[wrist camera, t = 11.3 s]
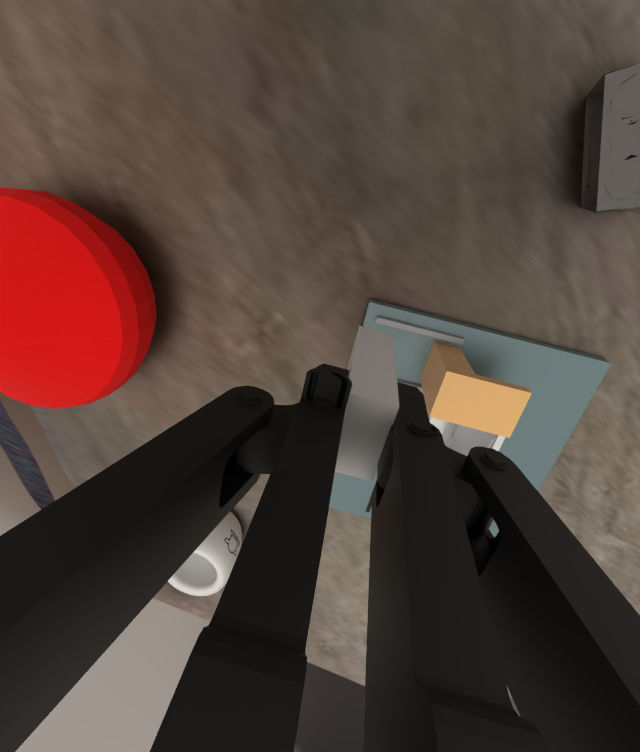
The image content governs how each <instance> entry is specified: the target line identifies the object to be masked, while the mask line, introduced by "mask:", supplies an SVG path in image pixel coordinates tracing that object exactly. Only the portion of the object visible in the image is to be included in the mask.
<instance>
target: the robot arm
mask: <svg viewBox="0 0 640 752" xmlns="http://www.w3.org/2000/svg"><path fill="white" fill-rule="evenodd" d="M376 471H377V480H376V483H375V486H374V489H373V491H372V494H371V497H370V500H369V503H368V505H367V508H366V511H365V512H369V511H370V509H371V507H372V513H371V541H370V569H369V598H368V626H367V654H366V682H365V711H364V740H363V752H640V615H639V614H638V613H637V612H636V611H635V609H634V608H633V607H632V606H631V604H630V603H629V602H628V601H627V600H626V598H625V597H624V596H623V595H622V593H621V592H620V591H619V590H618V589H617V587H616V586H615V585H614V584H613V582H612V581H611V580H610V579H609V578H608V576H607V575H606V574H605V573H604V572H603V570H602V569H601V568H600V567H599V565H598V564H597V563H596V562H595V561H594V559H593V558H592V557H591V556H590V554H589V553H588V552H587V551H586V550H585V548H584V547H583V546H582V545H581V543H580V542H579V541H578V540H577V539H576V537H575V536H574V535H573V534H572V532H571V531H570V530H569V529H568V528H567V526H566V525H565V524H564V523H563V522H562V520H561V519H560V518H559V517H558V515H557V514H556V513H555V512H554V511H553V509H552V508H551V507H550V506H549V504H548V503H547V502H546V501H545V500H544V498H543V497H542V496H541V495H540V493H539V492H538V491H537V490H536V489H535V487H534V486H533V485H532V484H531V482H530V481H529V480H528V479H527V478H526V476H525V475H524V474H523V473H522V472H521V470H520V469H519V468H518V467H517V465H516V464H515V463H514V462H513V461H512V460H511V459H509V458H508V457H506V456H505V455H503V454H502V453H501V452H499V451H496V450H495V449H492V448H486V447H473V448H471V449H470V451H469V453H468V455H467V456H466V455H463V454H461V453H459V452H457V451H454V450H452V449H451V448H449V447H447V446H445V444H444V440H443V437H442V434H441V432H440V430H439V429H438V428H436V427H435V426H434V425H433V424H431V423H430V421H429V417H428V412H427V409H426V403H425V399H424V395H423V393H422V392H421V391H420V390H419V389H418V388H417V387H415V386H411V385H407V384H404V383H400V382H397V374H396V363H395V352H394V340H393V334H389V333H385V332H381V331H377V330H374V329H370V328H366V327H362V326H359V328H358V332H357V335H356V339H355V343H354V346H353V350H352V354H351V357H350V361H349V365H348V368H347V370H346V369H342V368H338V367H335V366H331V365H327V364H322V365H320V366H318V367H316V368H315V369H311V370H309V371H308V372H307V375H306V379H305V383H304V388H303V392H302V397H301V400H300V402H299V403H297V404H294V405H274V399H273V397H272V396H271V395H270V394H269V393H268V392H266V391H264V390H263V389H259V388H257V387H253V386H251V387H250V386H241V387H235V388H233V389H230V390H229V391H227V392H225V393H224V394H222V395H221V396H219V397H218V398H216V399H214V400H213V401H211V402H210V403H208V404H207V405H205V406H203V407H202V408H200V409H199V410H197V411H196V412H194V413H192V414H191V415H189V416H188V417H186V418H185V419H183V420H181V421H180V422H178V423H177V424H175V425H174V426H172V427H171V428H169V429H167V430H166V431H164V432H163V433H161V434H160V435H158V436H156V437H155V438H153V439H152V440H150V441H149V442H147V443H145V444H144V445H142V446H141V447H139V448H138V449H136V450H134V451H133V452H131V453H130V454H128V455H127V456H125V457H123V458H122V459H120V460H119V461H117V462H116V463H114V464H113V465H111V466H109V467H108V468H106V469H105V470H103V471H102V472H100V473H98V474H97V475H95V476H94V477H92V478H91V479H89V480H87V481H86V482H84V483H83V484H81V485H80V486H78V487H76V488H75V489H73V490H72V491H70V492H69V493H67V494H66V495H64V496H62V497H61V498H59V499H58V500H56V501H55V502H53V503H51V504H50V505H48V506H47V507H45V508H44V509H42V510H40V511H39V512H37V513H36V514H34V515H33V516H31V517H29V518H28V519H26V520H25V521H23V522H22V523H20V524H18V525H17V526H15V527H14V528H12V529H11V530H9V531H7V532H6V533H4V534H3V535H1V536H0V752H15V751H16V750H17V749H18V748H19V747H20V746H21V744H22V743H23V742H24V741H25V740H26V739H27V738H28V737H29V736H30V734H31V733H32V732H33V731H34V730H35V729H36V728H37V727H38V726H39V724H40V723H41V722H42V721H43V720H44V719H45V718H46V717H47V716H48V714H49V713H50V712H51V711H52V710H53V708H55V707H56V705H57V704H58V703H59V702H60V701H61V700H62V699H63V698H64V696H65V695H66V694H67V693H68V692H69V691H70V690H71V689H72V688H73V686H74V685H75V684H76V683H77V682H78V681H79V680H80V679H81V677H82V676H83V675H84V674H85V673H86V672H87V671H88V670H89V669H90V667H91V666H92V665H93V664H94V663H95V662H96V661H97V659H98V658H99V657H100V656H101V655H102V654H103V653H104V652H105V650H106V649H107V648H108V647H109V646H110V645H111V644H112V643H113V642H114V641H115V639H116V638H117V637H118V636H119V635H120V634H121V633H122V632H123V631H124V629H125V628H126V627H127V626H128V625H129V624H130V623H131V622H132V620H133V619H134V618H135V617H136V616H137V615H138V614H139V613H140V611H141V610H142V609H143V608H144V607H145V606H146V605H147V604H148V603H149V601H150V600H151V599H152V598H153V597H154V596H155V595H156V594H157V593H158V591H159V590H160V589H161V588H162V587H163V586H164V585H165V584H166V582H167V581H168V580H169V579H170V578H171V577H172V576H173V575H174V574H175V572H176V571H177V570H178V569H179V568H180V567H181V566H182V565H183V563H184V562H185V561H186V560H187V559H188V558H189V557H190V556H191V555H192V553H193V552H194V551H195V550H196V549H197V548H198V547H199V546H200V544H201V543H202V542H203V541H204V540H205V539H206V538H207V537H208V536H209V534H210V533H211V532H212V531H213V530H214V529H215V528H216V527H217V525H218V524H219V523H220V522H221V521H222V520H223V519H224V518H225V517H226V515H227V514H228V513H229V512H230V511H231V510H232V509H233V508H234V506H235V505H236V504H237V503H238V502H239V501H240V500H241V499H242V498H243V496H244V495H245V494H246V493H247V492H248V491H249V490H250V489H251V487H252V486H253V485H254V484H255V483H256V482H257V480H258V478H259V477H260V474H270V477H269V479H268V482H267V484H266V487H265V489H264V492H263V494H262V496H261V499H260V501H259V504H258V506H257V509H256V511H255V514H254V516H253V519H252V521H251V524H250V526H249V529H248V531H247V534H246V536H245V539H244V541H243V544H242V546H241V549H240V551H239V554H238V556H237V559H236V561H235V564H234V566H233V568H232V571H231V573H230V576H229V578H228V581H227V583H226V586H225V588H224V591H223V593H222V596H221V598H220V601H219V603H218V606H217V608H216V611H215V613H214V615H213V618H212V620H211V622H210V624H209V625H208V626H206V627H204V628H203V630H202V632H201V633H200V635H199V637H198V639H197V641H196V644H195V646H194V648H193V650H192V652H191V655H190V657H189V659H188V662H187V664H186V666H185V669H184V671H183V674H182V676H181V679H180V681H179V683H178V686H177V688H176V690H175V693H174V695H173V698H172V700H171V702H170V705H169V707H168V710H167V712H166V714H165V717H164V719H163V721H162V724H161V726H160V729H159V731H158V733H157V736H156V738H155V741H154V743H153V745H152V748H151V750H150V752H293V751H294V745H295V739H296V732H297V726H298V720H299V713H300V707H301V701H302V694H303V688H304V681H305V674H306V664H307V656H306V655H305V648H306V641H307V635H308V629H309V623H310V617H311V611H312V605H313V599H314V593H315V587H316V581H317V575H318V569H319V563H320V557H321V551H322V545H323V539H324V533H325V528H326V522H327V516H328V510H329V504H330V498H331V492H332V486H333V480H334V474H335V472H339V473H342V474H346V475H350V476H353V477H357V478H361V479H364V480H368V481H372V482H373V479H374V477H375V474H376ZM493 520H494V521H495V523H496V525H497V527H498V529H499V532H498V533H497V535H496V536H495V537H494V536H493V535H492V533H491V532H490V530H489V528H490V526H491V524H492V522H493ZM506 685H507V686H506ZM507 687H508V689H509V691H510V694H511V696H512V698H513V700H514V702H515V704H516V707H517V709H518V711H519V714H520V716H521V717H520V716H518V714H517V713H516V712H515V710H514V709H513V706H512V704H511V701H510V698H509V694H508V690H507Z"/></svg>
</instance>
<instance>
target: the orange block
mask: <svg viewBox="0 0 640 752" xmlns="http://www.w3.org/2000/svg"><path fill="white" fill-rule="evenodd" d="M420 382H421V386H422V390H423V394H424V398H425V402H426V406H427V410H428V414H429V417H432V418H436V419H439V420H443V421H447V422H451V423H454V424H458V425H462V426H466V427H470V428H473V429H477V430H481V431H485V432H488V433H492V434H496V435H500V436H504V437H507V438H510V436H511V434H512V432H513V430H514V428H515V426H516V424H517V422H518V420H519V418H520V416H521V414H522V412H523V410H524V408H525V406H526V404H527V402H528V400H529V398H530V396H531V394H532V393H531V391H530V390H529V389H528V388H527V387H523V386H519V385H515V384H511V383H507V382H503V381H500V380H496V379H492V378H488V377H484V376H480V375H476V374H475V373H474V371H473V369H472V368H471V366H470V364H469V363H468V361H467V359H466V358H465V356H464V354H463V353H462V351H461V349H460V348H459V347H456V346H452V345H448V344H444V343H441V342H437V341H434V342H433V344H432V347H431V350H430V353H429V355H428V358H427V361H426V364H425V366H424V369H423V372H422V375H421V378H420Z"/></svg>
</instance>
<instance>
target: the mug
mask: <svg viewBox="0 0 640 752" xmlns="http://www.w3.org/2000/svg"><path fill="white" fill-rule="evenodd" d="M241 544H242V531H241V526H240V523H239V521H238V520H237V518H236V517H235V515H234V514H233V513H232V512H229V513H228V514H227V515H226V517H225V518H224V519H223V520H222V521H221V522H220V523H219V524H218V525H217V527H216V528H215V529H214V530H213V531H212V532H211V533H210V534H209V536H208V537H207V538H206V539H205V540H204V541H203V542H202V543H201V544H200V546H199V547H198V548H197V549H196V550H195V551H194V552H193V553H192V555H191V556H190V557H189V558H188V559H187V560H186V561H185V562H184V563H183V565H182V566H181V567H180V568H179V569H178V570H177V571H176V572H175V574H174V575H173V576H172V577H171V578H170V579H169V580H168V582H169V583H170V584H171V585H172V586H174V587H175V588H176V589H178V590H180V591H182V592H184V593H187V594H190V595H195V596H208V595H212V594H214V593H216V592H218V591H219V590H220V589H221V588H222V587H223V586H225V584H226V583H227V581H228V578H229V576H230V573H231V571H232V568H233V566H234V564H235V561H236V559H237V556H238V554H239V551H240V549H241Z"/></svg>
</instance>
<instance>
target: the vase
mask: <svg viewBox="0 0 640 752" xmlns="http://www.w3.org/2000/svg"><path fill="white" fill-rule="evenodd" d="M156 316H157V315H156V304H155V294H154V291H153V288H152V285H151V282H150V279H149V276H148V273H147V271H146V269H145V267H144V266H143V264H142V262H141V261H140V259H139V257H138V256H137V254H136V252H135V251H134V249H133V248H132V247H131V246H130V245H129V244H128V243H127V242H126V241H125V240H124V238H123V237H122V236H121V235H120V234H119V233H118V232H117V231H116V230H115V229H113V228H112V227H110V226H109V225H107V224H106V223H104V222H103V221H101V220H100V219H99V218H97V217H96V216H94V215H93V214H91V213H89V212H88V211H86V210H85V209H83V208H82V207H80V206H79V205H77V204H76V203H74V202H72V201H69V200H66V199H64V198H61V197H58V196H56V195H53V194H50V193H48V192H43V191H33V190H22V189H10V188H0V392H1V393H3V394H5V395H6V396H8V397H11V398H13V399H16V400H18V401H21V402H24V403H27V404H29V405H33V406H40V407H47V408H62V407H70V406H78V405H84V404H90V403H92V402H95V401H97V400H99V399H101V398H103V397H105V396H108V395H110V394H111V393H112V392H114V391H115V390H117V389H118V388H119V387H121V386H122V385H123V384H124V383H125V382H127V381H128V380H129V379H130V378H131V377H132V376H133V375H134V374H135V373H136V372H137V371H138V369H139V367H140V365H141V363H142V361H143V359H144V357H145V355H146V353H147V351H148V349H149V346H150V343H151V340H152V338H153V334H154V328H155V322H156Z"/></svg>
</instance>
